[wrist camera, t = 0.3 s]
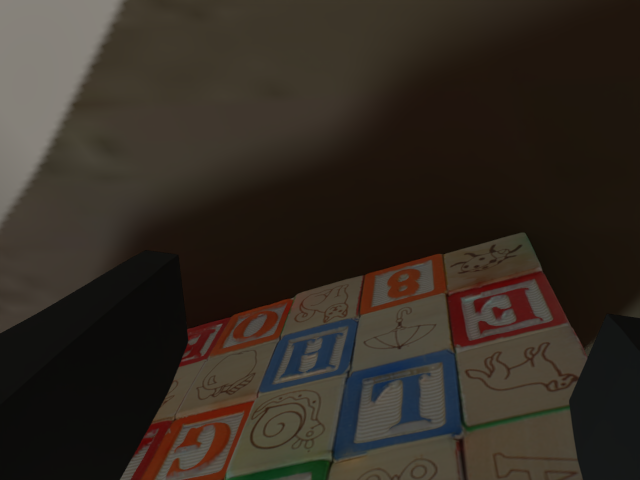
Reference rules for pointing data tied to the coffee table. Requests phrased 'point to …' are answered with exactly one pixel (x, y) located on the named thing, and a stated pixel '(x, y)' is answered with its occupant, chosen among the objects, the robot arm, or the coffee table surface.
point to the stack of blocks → (381, 380)
